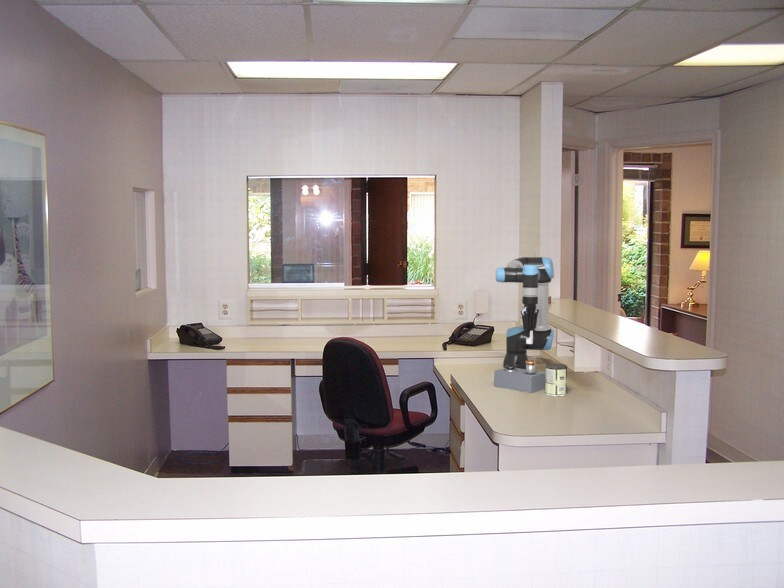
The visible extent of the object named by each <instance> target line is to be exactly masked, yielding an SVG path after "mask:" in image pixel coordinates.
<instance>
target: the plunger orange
mask: <svg viewBox="0 0 784 588" xmlns="http://www.w3.org/2000/svg"><path fill="white" fill-rule="evenodd" d="M525 363H526V374H529V375H534V374H535V371H536V365H537V361H536V360H530V359H528V361H525Z"/></svg>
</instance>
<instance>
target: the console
mask: <svg viewBox="0 0 784 588" xmlns="http://www.w3.org/2000/svg"><path fill="white" fill-rule="evenodd" d="M545 373H546V371H540V370H539V371H538V370H535V374H534V375H529V374H526V369H520V368H516V369H515V371H513V372H510V371H506V368H505V367H503V368H500V369H497V370H494V371H493V376H494V377H493V387H495V386H496V388H500V387H501V388H503V389H505V390H506V389H507V390H512V391H513V390H514V391H518V392H524V393H529V394H533V393H536V392H540V391H543V390H545ZM501 388H500V389H501Z"/></svg>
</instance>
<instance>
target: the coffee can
mask: <svg viewBox="0 0 784 588" xmlns="http://www.w3.org/2000/svg"><path fill="white" fill-rule="evenodd" d="M544 366H545V367H544V368H545V372H546V373H545V389H544V390H545V393H544V394H545V396H550V397H558V398H559V397H565V396H567V395H568V393H567V392H568V391H567V389H568V387H567V386H568V384H567V383H568V381H567V379H568V365H567V364H563V363H547V364H545V365H544Z"/></svg>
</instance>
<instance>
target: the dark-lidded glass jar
mask: <svg viewBox="0 0 784 588" xmlns="http://www.w3.org/2000/svg"><path fill="white" fill-rule="evenodd" d="M504 368H506V371H510V372H513V371H515V369H516V366H513V365H507V366H505V367H504Z"/></svg>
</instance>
